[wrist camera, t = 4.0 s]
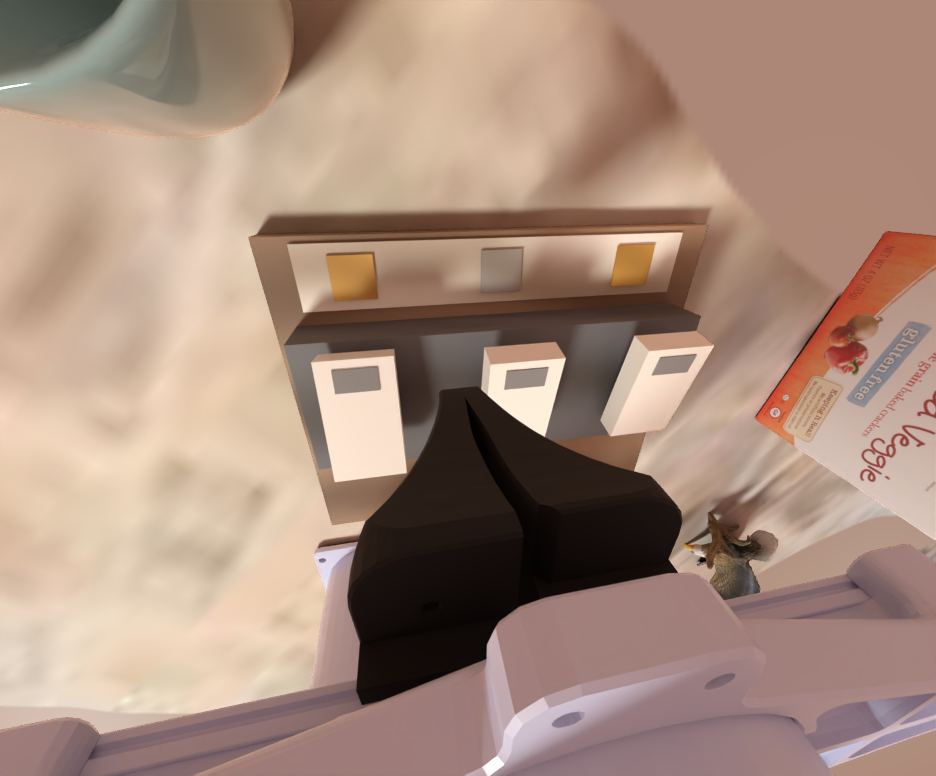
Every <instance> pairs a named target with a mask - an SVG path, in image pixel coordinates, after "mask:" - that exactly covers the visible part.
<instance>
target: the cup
mask: <svg viewBox="0 0 936 776" xmlns="http://www.w3.org/2000/svg"><path fill="white" fill-rule="evenodd" d="M293 51H294V23H293V12H292V6H291V1H290V0H0V111H2V112H7V113H11V114H15V115H20V116H25V117H30V118H35V119H40V120H46V121H51V122H56V123H62V124H67V125H73V126H78V127H84V128H89V129H95V130H100V131H106V132H112V133H119V134H126V135H133V136H141V137H152V138H188V139H195V138H203V137H209V136H214V135H219V134H224V133H227V132H230V131H232V130H234V129H236V128H238V127H241V126H243V125H245V124H247V123H249V122H251V121H252V120H254V119H255V118H256V117H258V116H259V115H260V114H261V113H263V112H264V111H265V110H266V109H267V108H268V107H269V106H270V105H271V103H272V102H273V101H274V100H275V98H276V97H277V96H278V95H279V93H280V91H281V89H282V87H283V85H284V83H285V81H286V79H287V76H288V74H289V70H290V65H291V61H292V56H293Z"/></svg>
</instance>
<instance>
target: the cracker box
mask: <svg viewBox="0 0 936 776" xmlns="http://www.w3.org/2000/svg"><path fill="white" fill-rule="evenodd" d="M755 419H756V420H757V421H758V422H759V423H761V424H763V425H764V426H765V427H767V428H768V429H770V430H772V431H773V432H775V433H776V434H777V435H779V436H780V437H782V438H783V439H784V440H786V441H787V442H789V443H790V444H792V445H793V446H795V447H796V448H798V449H799V450H801V451H802V452H804V453H806V454H807V455H809V456H810V457H812V458H813V459H815V460H816V461H818V462H819V463H821V464H822V465H824V466H825V467H827V468H828V469H830V470H831V471H833V472H834V473H835V474H837V475H838V476H840V477H841V478H843V479H845V480H846V481H848V482H849V483H851V484H852V485H854V486H855V487H857V488H858V489H859V490H861V491H862V492H864V493H865V494H867V495H868V496H870V497H871V498H873V499H874V500H876V501H877V502H879V503H880V504H882V505H883V506H885V507H886V508H888V509H889V510H891V511H892V512H894V513H895V514H897V515H898V516H900V517H901V518H903V519H904V520H906V521H907V522H909V523H910V524H912V525H913V526H915V527H916V528H918V529H919V530H921V531H922V532H923V533H925V534H927V535H928V536H929V537H931V538H932V539H934V540H936V236H931V235H922V234H912V233H901V232H890V231H888V232H885V233H884V234H883V235H882V237H881V239H880V240H879V242H878V243H877V245H876V246H875V248H874V249H873V250H872V252H871V253H870V255H869V256H868V258H867V259H866V261H865V262H864V263H863V265H862V266H861V268H860V269H859V271H858V272H857V273H856V275H855V277H854V278H853V279H852V281H851V282H850V284H849V285H848V286H847V288H846V289H845V291H844V292H843V294H842V295H841V296H840V298H839V299H838V301H837V302H836V304H835V305H834V306H833V308H832V309H831V311H830V312H829V314H828V315H827V316H826V318H825V319H824V321H823V322H822V323H821V325H820V326H819V328H818V329H817V331H816V332H815V334H814V335H813V337H812V338H811V339H810V341H809V342H808V344H807V345H806V346H805V348H804V349H803V351H802V352H801V354H800V355H799V356H798V358H797V359H796V361H795V362H794V364H793V365H792V366H791V368H790V369H789V371H788V372H787V374H786V375H785V377H784V378H783V379H782V381H781V382H780V384H779V385H778V386H777V388H776V389H775V391H774V392H773V394H772V395H771V396H770V398H769V399H768V401H767V402H766V403H765V405H764V406H763V408H762V409H761V411H760V412H759V413H758V415H757V416H756V418H755Z"/></svg>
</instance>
